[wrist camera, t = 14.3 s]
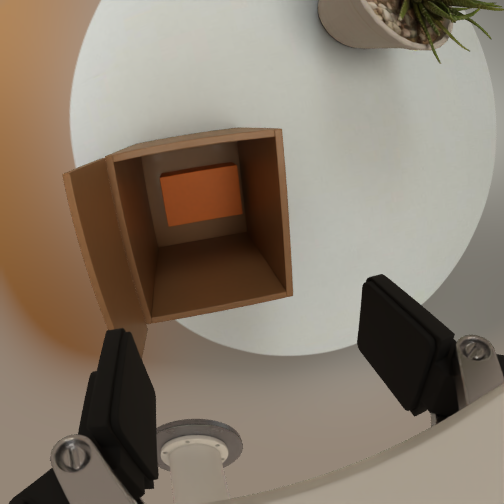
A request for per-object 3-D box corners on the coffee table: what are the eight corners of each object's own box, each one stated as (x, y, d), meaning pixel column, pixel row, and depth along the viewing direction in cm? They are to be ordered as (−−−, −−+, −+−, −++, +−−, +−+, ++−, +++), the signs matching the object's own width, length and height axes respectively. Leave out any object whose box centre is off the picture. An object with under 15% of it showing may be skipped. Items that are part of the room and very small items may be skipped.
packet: (232, 161, 33) (237, 164, 30) (237, 206, 35) (242, 214, 32) (160, 173, 32) (159, 177, 29) (168, 218, 34) (168, 227, 31)
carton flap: (137, 382, 16) (131, 383, 16) (148, 329, 21) (143, 329, 21) (69, 172, 12) (61, 174, 12) (105, 157, 17) (99, 159, 17)
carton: (250, 233, 37) (293, 296, 24) (155, 250, 35) (146, 324, 22) (239, 127, 32) (282, 128, 19) (135, 144, 30) (104, 156, 17)
